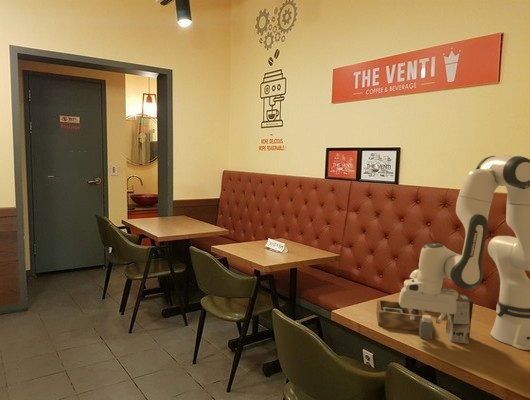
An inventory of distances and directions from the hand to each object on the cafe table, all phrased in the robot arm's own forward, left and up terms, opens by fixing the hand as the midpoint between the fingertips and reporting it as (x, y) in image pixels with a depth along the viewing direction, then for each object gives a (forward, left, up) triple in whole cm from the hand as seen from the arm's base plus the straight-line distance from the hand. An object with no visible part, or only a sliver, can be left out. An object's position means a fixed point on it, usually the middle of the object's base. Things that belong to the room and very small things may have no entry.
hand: (425, 321), depth 151 cm
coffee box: (-13, -3, -7) cm, 15 cm away
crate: (+7, -12, -6) cm, 16 cm away
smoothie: (-3, -34, -6) cm, 35 cm away
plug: (-1, 0, -6) cm, 6 cm away
